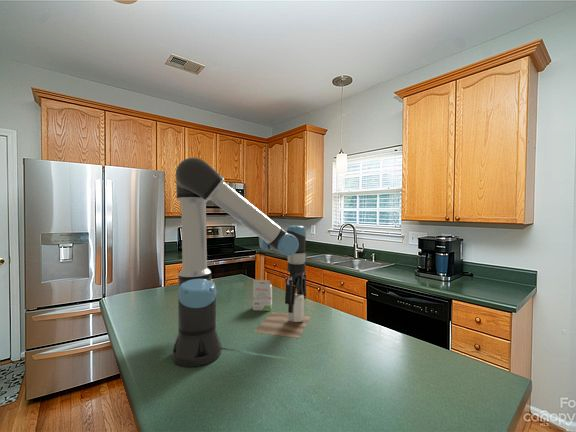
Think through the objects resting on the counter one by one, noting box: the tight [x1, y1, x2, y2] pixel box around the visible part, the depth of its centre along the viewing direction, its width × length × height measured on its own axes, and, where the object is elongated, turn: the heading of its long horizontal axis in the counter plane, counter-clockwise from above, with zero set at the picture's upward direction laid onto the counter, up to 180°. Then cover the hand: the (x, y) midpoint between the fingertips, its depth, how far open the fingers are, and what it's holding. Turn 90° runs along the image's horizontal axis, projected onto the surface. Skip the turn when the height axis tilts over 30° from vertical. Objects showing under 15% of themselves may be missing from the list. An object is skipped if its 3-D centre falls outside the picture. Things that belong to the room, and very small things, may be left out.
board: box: [253, 311, 312, 339], centre depth 116 cm, size 22×18×6 cm
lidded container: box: [288, 293, 305, 322], centre depth 118 cm, size 6×6×10 cm
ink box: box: [252, 279, 273, 312], centre depth 133 cm, size 9×5×15 cm, turn 84°
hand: (295, 316), depth 119 cm, fingers closed on lidded container, 6 cm apart
